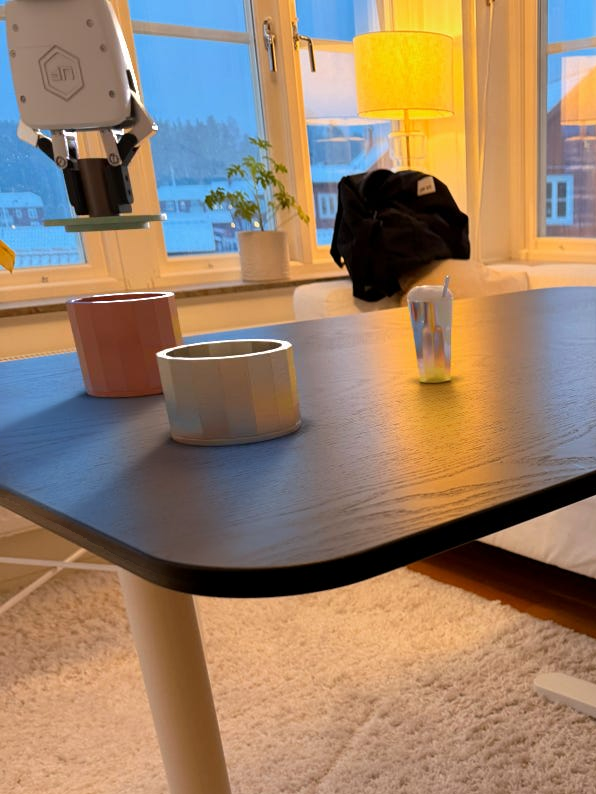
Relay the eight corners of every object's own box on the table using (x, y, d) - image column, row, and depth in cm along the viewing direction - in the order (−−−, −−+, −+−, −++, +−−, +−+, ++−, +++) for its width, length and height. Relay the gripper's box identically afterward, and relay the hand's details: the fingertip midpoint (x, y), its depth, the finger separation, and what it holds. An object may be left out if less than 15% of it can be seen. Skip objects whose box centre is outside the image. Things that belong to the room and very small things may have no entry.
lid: (23, 235, 82) (4, 159, 79) (77, 231, 92) (62, 164, 90) (142, 229, 82) (127, 152, 79) (184, 225, 92) (172, 158, 89)
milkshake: (435, 387, 87) (428, 278, 83) (404, 381, 91) (396, 276, 86) (471, 380, 90) (466, 274, 85) (439, 374, 93) (433, 272, 89)
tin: (152, 448, 69) (135, 361, 66) (196, 418, 78) (182, 341, 75) (284, 443, 68) (272, 356, 65) (312, 415, 77) (303, 337, 75)
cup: (69, 399, 89) (46, 304, 85) (111, 380, 99) (93, 294, 95) (169, 395, 89) (151, 300, 85) (203, 377, 98) (187, 290, 94)
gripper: (-58, -20, 75) (3, 219, 83) (129, -32, 74) (173, 210, 83) (-11, -2, 82) (42, 217, 90) (162, -13, 81) (199, 209, 89)
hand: (104, 212), depth 86 cm, fingers closed on lid, 3 cm apart
